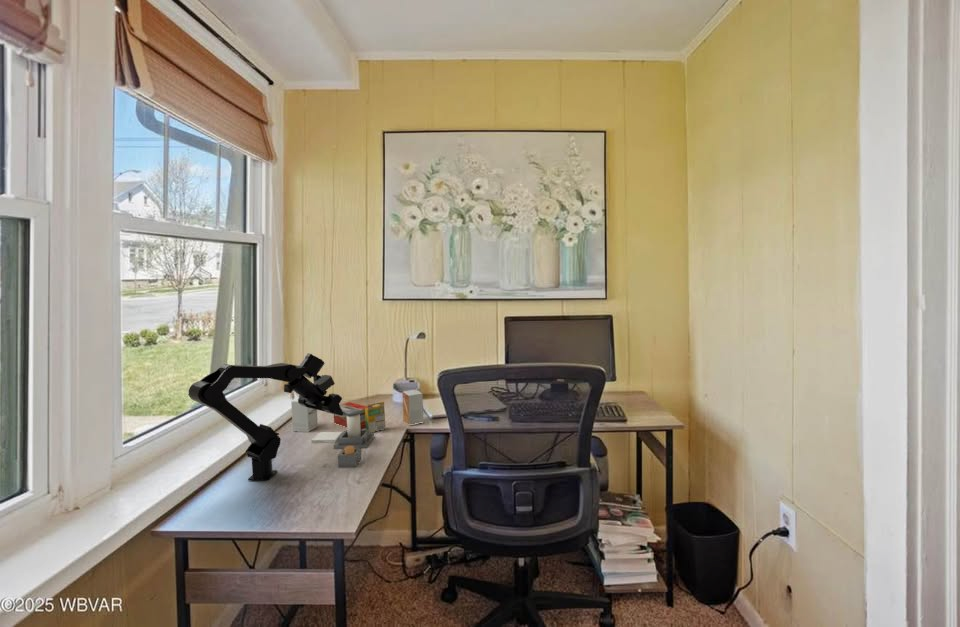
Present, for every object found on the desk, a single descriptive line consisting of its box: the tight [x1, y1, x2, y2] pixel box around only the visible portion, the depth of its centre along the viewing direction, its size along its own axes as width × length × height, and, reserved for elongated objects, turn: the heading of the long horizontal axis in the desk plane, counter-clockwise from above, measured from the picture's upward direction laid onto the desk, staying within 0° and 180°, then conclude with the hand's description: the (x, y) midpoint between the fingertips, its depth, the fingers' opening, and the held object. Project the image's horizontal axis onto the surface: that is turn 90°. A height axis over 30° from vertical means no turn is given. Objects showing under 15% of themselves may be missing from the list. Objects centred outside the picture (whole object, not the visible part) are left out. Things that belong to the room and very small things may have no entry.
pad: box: [310, 431, 343, 444], centre depth 182 cm, size 9×9×1 cm
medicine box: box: [333, 401, 368, 429], centre depth 198 cm, size 15×8×8 cm, turn 51°
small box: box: [401, 389, 425, 425], centre depth 199 cm, size 8×6×13 cm
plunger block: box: [337, 448, 362, 468], centre depth 157 cm, size 6×6×4 cm
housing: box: [332, 429, 375, 450], centre depth 177 cm, size 12×12×3 cm
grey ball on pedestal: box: [346, 409, 362, 438], centre depth 176 cm, size 5×5×12 cm
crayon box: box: [365, 401, 386, 434], centre depth 189 cm, size 7×3×12 cm, turn 126°
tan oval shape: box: [343, 445, 355, 454], centre depth 157 cm, size 3×3×5 cm
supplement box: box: [290, 397, 319, 433], centre depth 194 cm, size 7×7×13 cm
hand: (334, 412), depth 169 cm, fingers open, 9 cm apart
